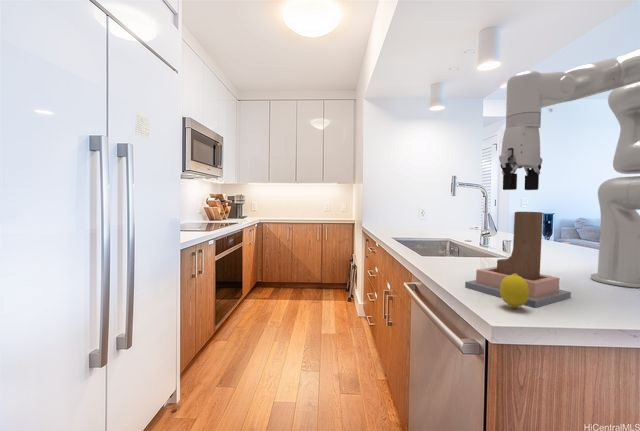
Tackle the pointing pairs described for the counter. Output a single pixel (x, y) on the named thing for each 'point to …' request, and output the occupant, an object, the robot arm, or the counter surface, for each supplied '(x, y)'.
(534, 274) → the wooden block
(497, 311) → the counter surface
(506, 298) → the lemon
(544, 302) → the baseplate
